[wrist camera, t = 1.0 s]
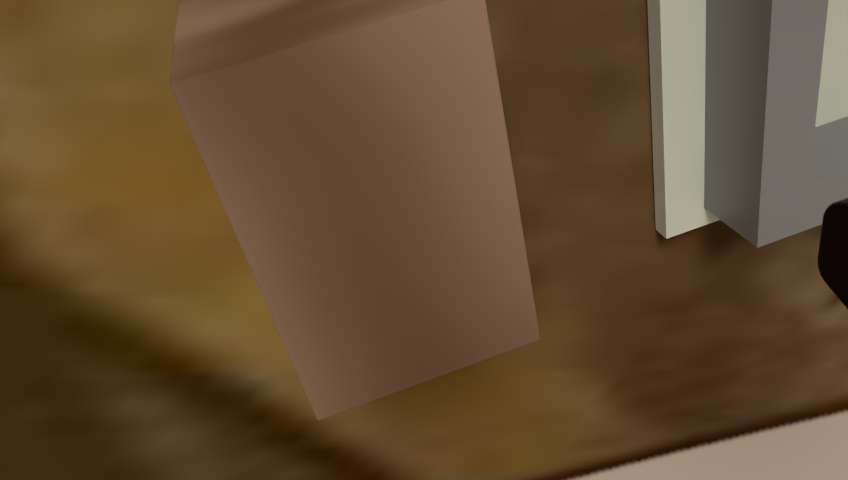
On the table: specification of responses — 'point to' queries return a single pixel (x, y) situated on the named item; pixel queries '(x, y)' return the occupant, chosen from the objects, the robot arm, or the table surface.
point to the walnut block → (363, 182)
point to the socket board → (748, 114)
